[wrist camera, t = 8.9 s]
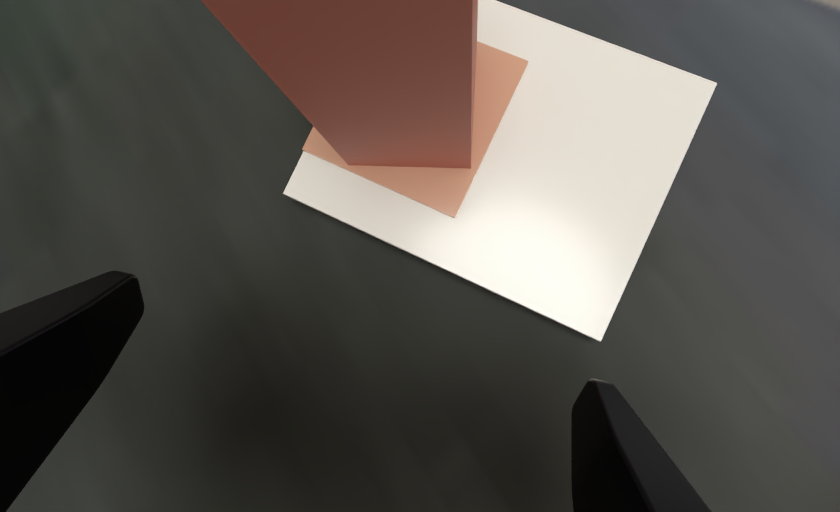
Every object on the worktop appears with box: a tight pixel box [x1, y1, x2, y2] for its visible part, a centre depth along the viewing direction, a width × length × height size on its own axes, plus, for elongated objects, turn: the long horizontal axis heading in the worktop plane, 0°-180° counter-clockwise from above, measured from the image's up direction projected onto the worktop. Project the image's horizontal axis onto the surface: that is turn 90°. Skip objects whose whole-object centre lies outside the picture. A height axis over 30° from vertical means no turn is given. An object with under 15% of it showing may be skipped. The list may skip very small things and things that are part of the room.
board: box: [283, 0, 717, 342], centre depth 19 cm, size 14×11×1 cm
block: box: [201, 0, 478, 169], centre depth 13 cm, size 5×5×12 cm
